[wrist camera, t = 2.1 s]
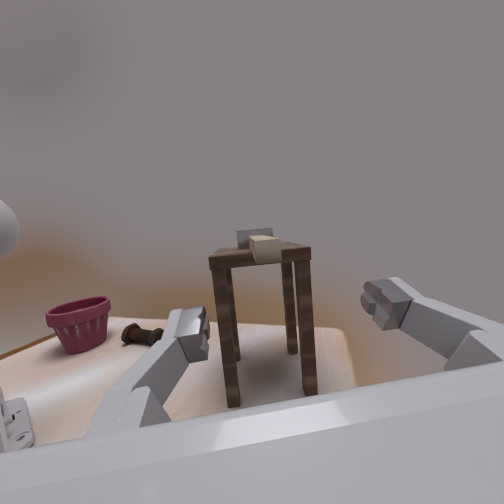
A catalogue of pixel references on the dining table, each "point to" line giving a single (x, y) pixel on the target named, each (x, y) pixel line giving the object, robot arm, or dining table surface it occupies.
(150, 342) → the bolt
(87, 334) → the plant pot
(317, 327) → the dining table surface
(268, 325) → the dining table surface
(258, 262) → the hammer
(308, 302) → the stool
